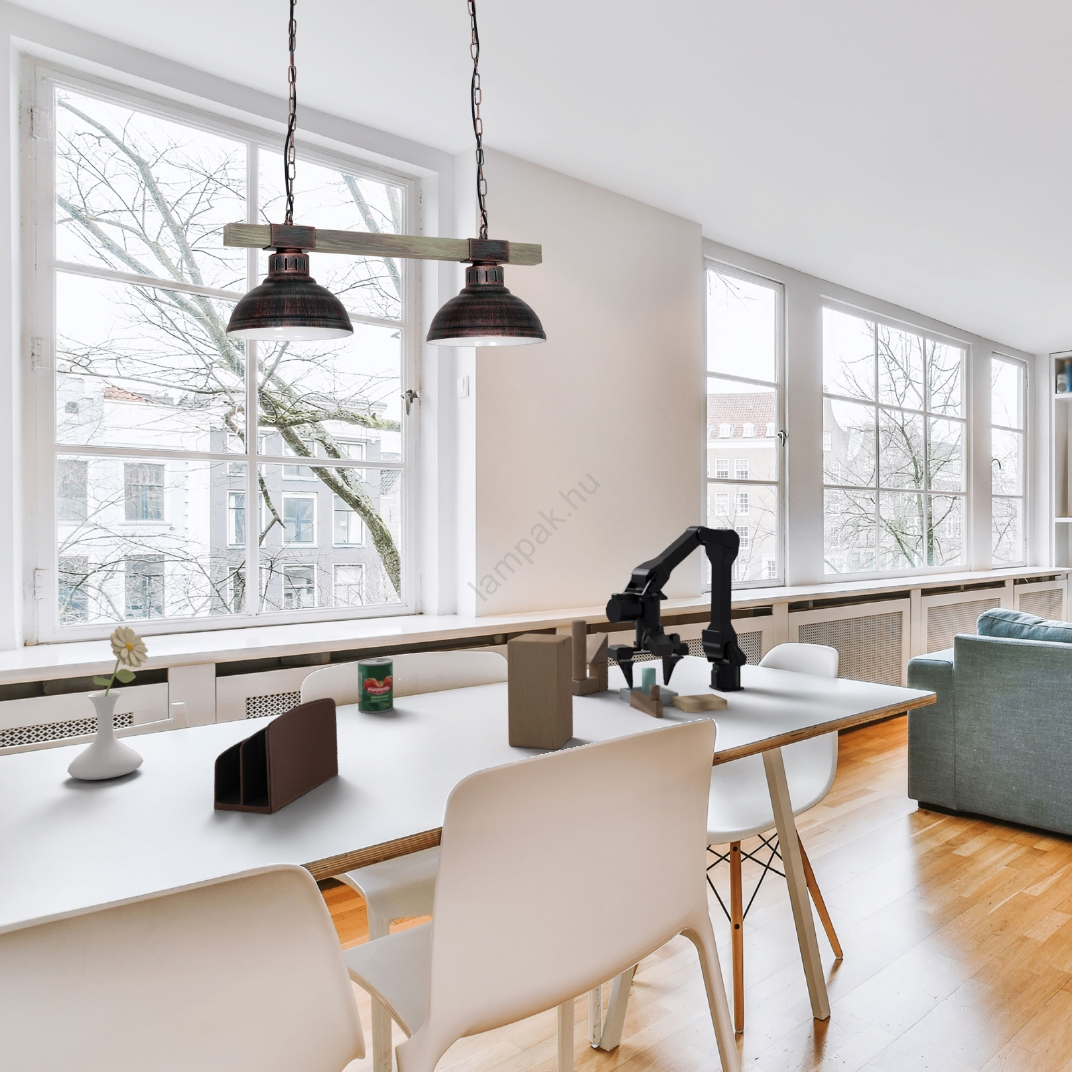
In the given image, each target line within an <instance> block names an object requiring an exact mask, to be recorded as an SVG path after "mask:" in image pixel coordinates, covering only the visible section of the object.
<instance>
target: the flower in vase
mask: <svg viewBox="0 0 1072 1072" xmlns="http://www.w3.org/2000/svg"><path fill="white" fill-rule="evenodd" d="M109 641H110V642H111V643H110V647H111V648H112V654H113V655H114V656H116V659H117V661H116V664H115V668H114V671H113V673H112V676H111V678H110V679H107V678H101V677H99V676H96V675H93V676H92V682H93V683H94V684H95V685H100V686H107V688H106V691H99V692H98V691H97V692H93V693H89V694H88V695H87V697H88V699H89V700H90V701H91V702H92V703H93V706H94V709H95V713H96V717H97V719H96V720H97V734H96V737H95V739H94V741H93V742H92V743H91V744H90V745H89V746H88V747H86V748H85V749H84V750H83V751H82V752H80V753H79V754H78V755H77V756H76V757H75V758H74V759H73V760H72V761H71V763H69V766H68V767H67V770H66V771H67V773H68V774H69V776H70V777H72V778H75V779H81V780H85V781H87V780H88V781H89V780H90V781H92V780H94V781H96V780H106V779H111V778H112V779H113V778H116V777H117V778H118V777H121V776H124V775H127V774H130V773H132V772H135V771H136V770H137V769H139V768H141V766H142V764H143V762H144V759H143V757H142V755H141V754H140V753H139V752H138V751H137V750H135V749H134V748H133V747H130V746H129V745H127V744H125V743H124V742H122V740H121V741H120V740H119V739H118V738H117V736H116V735H115V732H114V726H113V721H114V720H113V718H114V710H115V705H116V702H117V700H118V699H119V697H120V696H121V695H122V692H121V691H117V690H111V691H110V688H111V686H112V684H113V681H114V679H115V677H116V679H117V680H119V681H120V682H121V683H124V684H127V683H130V682H132V681H133V680H134V679H136V675H135V673H134V672H133V671H131V670H129V669H127V668H120V669H119V670H117V669H118V667H119V664H120V663H121V664H122V665H123V666H128V667H129V668H131V667H132V668H135V669H136V668H141V667H142V663H147V660H148V657H149V656H148V655H147V654H146V653H148V652H149V649H148V648H147V647H146V643H145V642H144V641H143V640H142V636H141V635H140V634H136V633H135V631H134V630H133V629H132V628H129V626H127V625H126V626H124V628H123V627H122V626H121V625H118V626H117V628H115V629H114V632H111V634H110V637H109Z"/></svg>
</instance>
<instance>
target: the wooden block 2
mask: <svg viewBox="0 0 1072 1072" xmlns="http://www.w3.org/2000/svg"><path fill="white" fill-rule="evenodd" d="M571 637H572V687H573V696H579V697H580V696H586V695H589V694H594V693H598V692H603V691H607V690H609V662H608V661H609V657H607V650H608V648H609V633H607V632H599V631H598V632H596V634H595V636H594V637H593V638H592V640H591V642H590V644H589V645H588V647H587V642H588V641H587V620H585V619H573V620H571ZM587 669H588V670H587ZM587 672H588V673H587Z"/></svg>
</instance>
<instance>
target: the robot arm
mask: <svg viewBox="0 0 1072 1072" xmlns="http://www.w3.org/2000/svg"><path fill="white" fill-rule="evenodd" d="M740 543H741V539H740V535H739V534H738V533H737V531H736V530H735V529H732V528H710V527H707V526H706V527H705V526H703V525H690V526H689V527H687V528H686V529H685V531H684V532H683V533H682V534H681V535H679V537H678V538H676V539H675V540H674V541H673V542H672V543H671V544H670V545H668V547H666V548H665V549H664V550H663V551H662V552H661V553H659V554H658V556H656V557H655V558H652V559H649V560H647V561H644V562H642V563H641V564H639V565H637V566H636V567H635V568H633V569H632V570H631V572H630V574H631V576H630V578H629V580H628V581H627V583H626V585H625V586H624V588H623V591H622V592H621V593H619V592H614V593H611V594H610V596H611V597H610V599H609V600H608V601H607V603H606V607H605V616H606V617H607V620H608V621H609V622H610V623H612V624H621V623H622V624H623V623H633V622H635V623H633V624H632V625H633V626H632V627H633V629H635V640H634V641H633V642H632V643H633V646H631V645H628V644H624V643H623V644H610V645H608V650H607V657H608V658H611V659H612V661H614V662H616V663H617V664H618V667H619V668H620V670H621V672H622V675H623V676H624V679H625V682H626V683H627V686H628V687H629V688H630V689H633V687H634V672H633V671H634V670H633V667H634V664H635V660H633V659H632V658H633V657H634V656H642V655H652V656H654V657H656V658H660V657H661V664H662V679H663V685H664V686H669V683H670V680H671V678H672V676H673V672H674V669H675V668H676V666H677V663H678V662H680V661H681V660H684V659H685V657H684V656H690V647H689V645H688V644H687V642H684V641H681V635H680V634H679V633H678V632H674V633H669V634H666V633H665V628H664V625H663V624H661V601H668V599H669V598H668V596H667V595H666V594H665V593H663V591H662V589H663V588H664V587H665V585H666V584H667V582H668V581H669V580H670V578H671V573H672V571H673V570H674V569H676V567H677V566H679V565H680V564H682V562H683V561H684V560H685V559H687V557H689V556H690V555H691V554H692V553H693V552H694V551H696V549H697V548H699V546H702V547H703V546H704V551H705V555H706V557H707V559H708V560H709V563H710V565H711V567H710V568H711V570H710V571H711V573H710V574H711V583H710V585H711V586H710V621H709V624H708V626H707V627H706V629H701V643H700V646H702V651H703V652H704V654H705V657H706V661H707V662H708V663H711V664H712V665H711V668H712V669H711V670H710V684H708V687H709V688H710V689H711V688H712V689H715V690H717V691H720V692H729V691H741V690H745V686H741V684H742V683H741V682H742V681H741V679H742V677H741V676H742V675H741V674H742V673H741V667H742V666H743V667H744V666H746V664H747V660H748V657H747V655H746V654H745V653H744V651H743V650H742V649H741V648H740V647H739V641H738V634H737V632H736V631H735V629H734V625H733V624H732V585H733V584H732V580H733V578H732V577H733V576H732V575H733V571H732V570H733V568H732V567H733V564H734V563H735V561H736V559H737V557H738V555H739V552H740Z"/></svg>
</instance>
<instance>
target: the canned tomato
mask: <svg viewBox="0 0 1072 1072" xmlns="http://www.w3.org/2000/svg"><path fill="white" fill-rule="evenodd" d="M393 662H394V659H392V658H387V657H386V658H385V657H384V658H383V657H375V658H374V657H373V658H365V659H360V660H358V661H357V696H358V697H357V700H358V701H357V705H358V706H357V711H358V712H360V713H363V714H380V713H381V714H382V713H386V712H390V711H392V710H393V709H394V670H393V669H394V664H393Z"/></svg>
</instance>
